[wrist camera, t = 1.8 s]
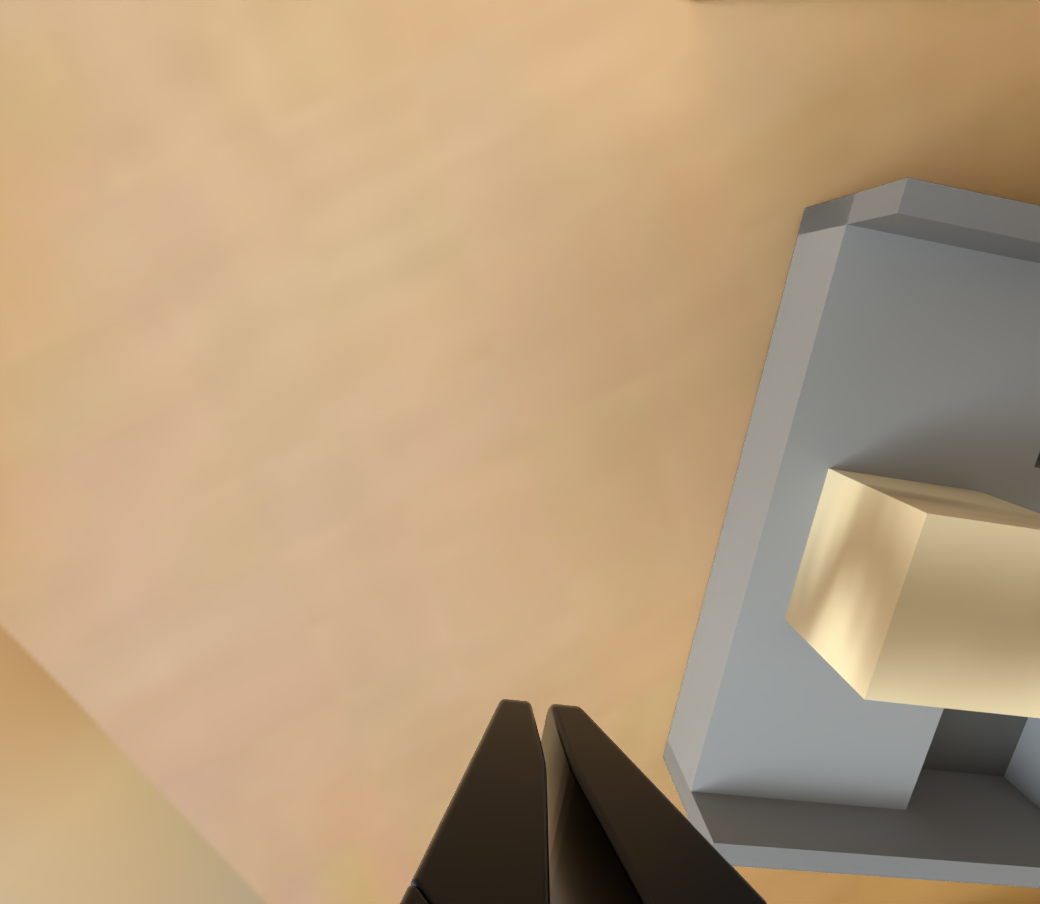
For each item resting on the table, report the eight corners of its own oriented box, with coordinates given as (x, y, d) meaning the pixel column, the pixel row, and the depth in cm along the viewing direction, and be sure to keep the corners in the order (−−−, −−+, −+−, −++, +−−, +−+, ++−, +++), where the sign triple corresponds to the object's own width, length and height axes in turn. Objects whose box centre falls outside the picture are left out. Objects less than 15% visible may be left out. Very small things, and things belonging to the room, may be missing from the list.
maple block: (927, 636, 19) (1040, 718, 16) (784, 618, 19) (864, 699, 15) (979, 491, 18) (1114, 540, 14) (828, 468, 18) (927, 513, 14)
